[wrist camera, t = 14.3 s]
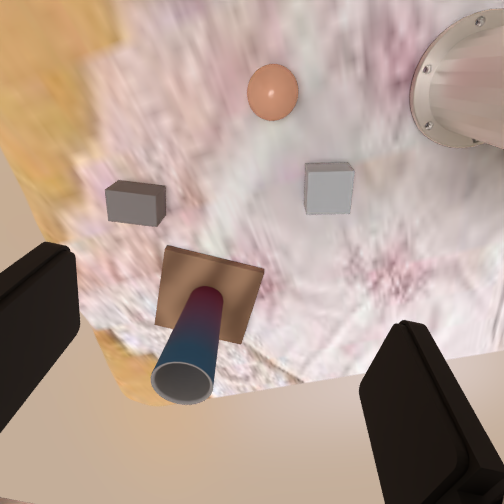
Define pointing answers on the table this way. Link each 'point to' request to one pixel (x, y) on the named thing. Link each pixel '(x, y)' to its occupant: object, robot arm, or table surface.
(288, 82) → the terracotta ball
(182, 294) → the walnut board
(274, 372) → the table surface
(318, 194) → the slate block
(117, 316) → the table surface
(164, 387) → the cup
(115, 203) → the taupe block
